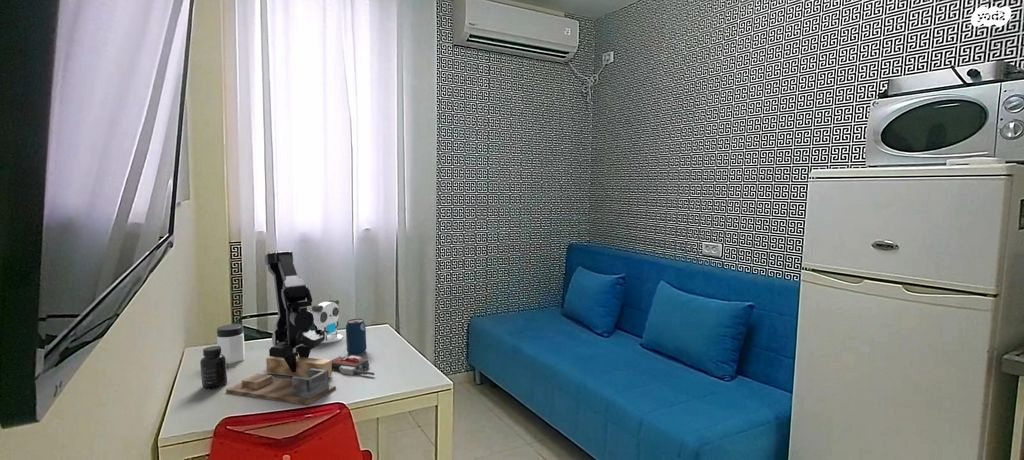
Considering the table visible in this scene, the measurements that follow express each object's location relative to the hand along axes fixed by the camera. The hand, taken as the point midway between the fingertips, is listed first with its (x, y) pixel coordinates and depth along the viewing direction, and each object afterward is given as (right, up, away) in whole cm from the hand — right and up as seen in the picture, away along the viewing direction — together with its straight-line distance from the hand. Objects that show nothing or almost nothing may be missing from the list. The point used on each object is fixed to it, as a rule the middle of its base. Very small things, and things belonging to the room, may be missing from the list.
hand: (298, 369), depth 166 cm
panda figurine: (-5, +1, +40) cm, 40 cm away
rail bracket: (0, -3, -12) cm, 13 cm away
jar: (-30, -1, +16) cm, 34 cm away
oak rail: (0, -1, 0) cm, 1 cm away
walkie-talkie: (+17, -2, +5) cm, 18 cm away
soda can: (+12, 0, +22) cm, 25 cm away
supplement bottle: (-23, -3, -8) cm, 24 cm away
